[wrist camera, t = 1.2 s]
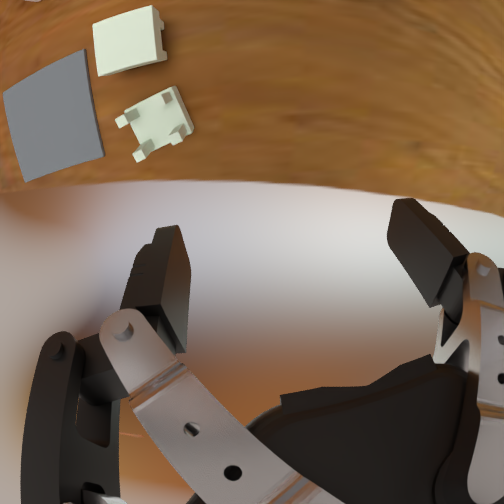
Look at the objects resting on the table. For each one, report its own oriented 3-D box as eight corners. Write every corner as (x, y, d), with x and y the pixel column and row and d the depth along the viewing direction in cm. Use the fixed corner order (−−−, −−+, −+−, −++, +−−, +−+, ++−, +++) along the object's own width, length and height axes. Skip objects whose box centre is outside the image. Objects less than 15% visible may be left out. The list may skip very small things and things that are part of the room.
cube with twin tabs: (118, 31, 19) (92, 24, 14) (166, 18, 19) (151, 5, 14) (123, 73, 23) (98, 76, 17) (171, 62, 23) (156, 59, 17)
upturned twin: (132, 107, 25) (110, 118, 20) (175, 85, 25) (163, 89, 19) (151, 146, 29) (135, 167, 23) (194, 127, 28) (187, 142, 23)
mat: (5, 92, 19) (2, 93, 18) (85, 49, 19) (83, 49, 19) (27, 180, 27) (25, 182, 27) (105, 155, 28) (103, 156, 28)
